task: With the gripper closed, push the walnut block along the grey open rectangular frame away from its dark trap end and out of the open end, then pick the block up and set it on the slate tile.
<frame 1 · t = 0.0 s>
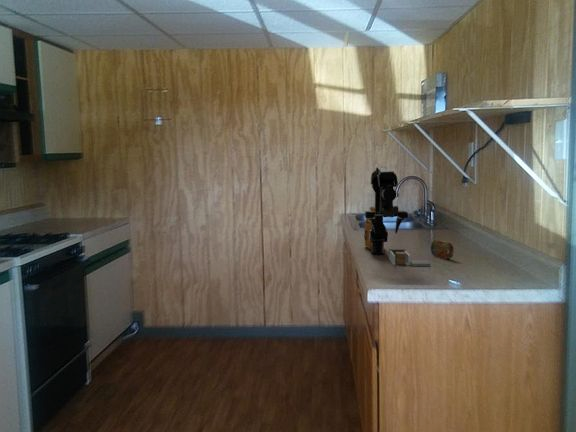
hand: (385, 233, 252), 15 cm above the counter, tool pointing down, fingers open, 9 cm apart
coffee package: (374, 248, 295), on the counter
block: (400, 263, 258), resting in grey open rectangular frame
tin: (442, 258, 271), on the counter
tile: (419, 264, 255), on the counter
grey open rectangular frame: (399, 262, 260), on the counter
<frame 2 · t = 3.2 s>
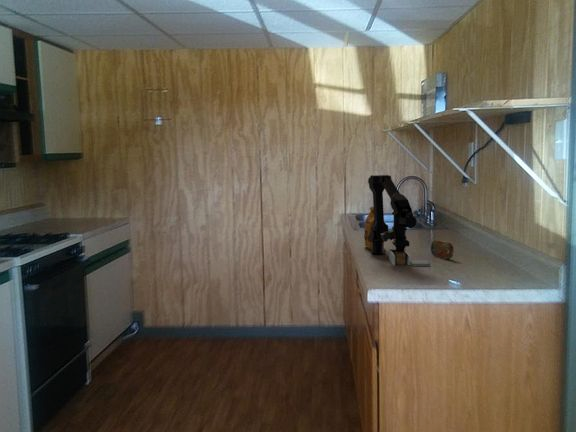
hand: (398, 257, 261), 2 cm above the counter, tool pointing down, fingers closed
block: (400, 263, 258), resting in grey open rectangular frame, touching gripper
everything else where it was.
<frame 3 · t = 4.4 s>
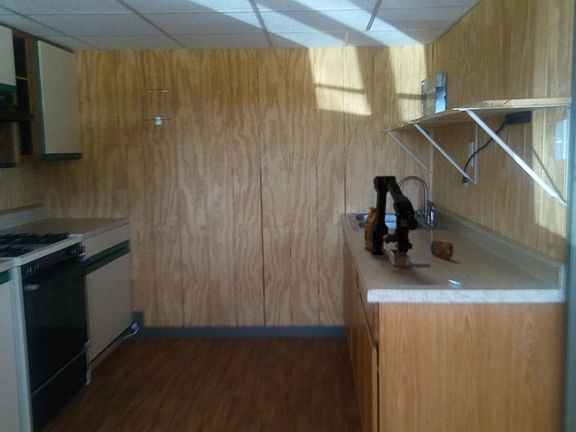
hand: (401, 261, 254), 2 cm above the counter, tool pointing down, fingers closed
block: (401, 263, 252), point 1 cm above the counter, tilted 27°, touching gripper
everything else where it was.
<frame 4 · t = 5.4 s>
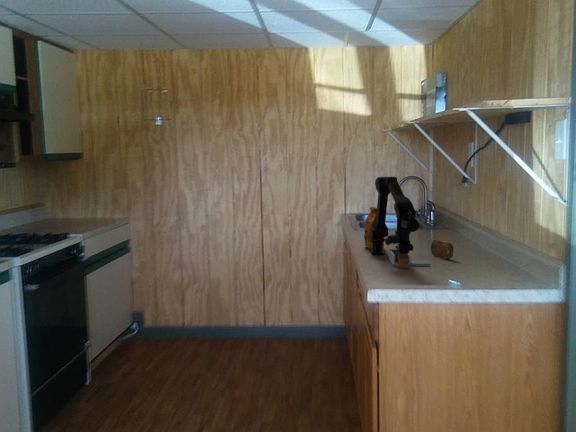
hand: (402, 262, 251), 2 cm above the counter, tool pointing down, fingers closed
block: (402, 265, 249), point 1 cm above the counter, tilted 27°, touching gripper
everything else where it was.
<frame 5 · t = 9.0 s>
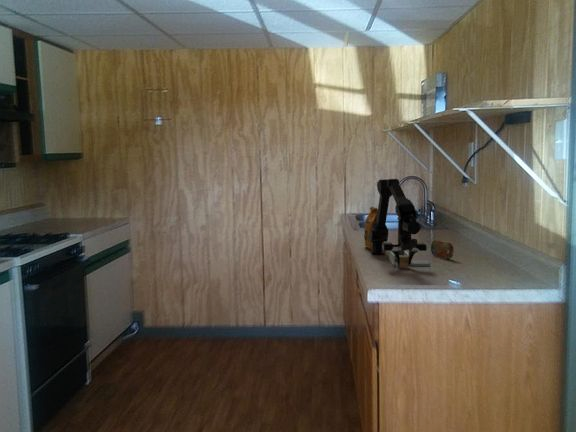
hand: (403, 265, 248), 1 cm above the counter, tool pointing down, fingers closed on block, 4 cm apart
block: (403, 267, 249), on the counter, touching gripper
everything else where it was.
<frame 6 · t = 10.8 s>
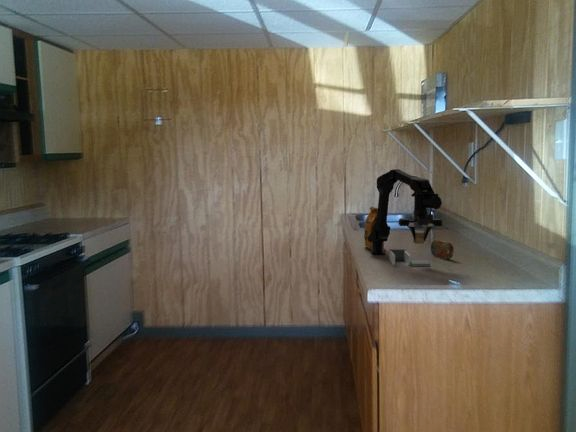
hand: (419, 241, 254), 11 cm above the counter, tool pointing down, fingers closed on block, 4 cm apart
block: (418, 242, 255), point 10 cm above the counter, touching gripper
everything else where it was.
when the fingers open (3 cm above the counter, at t = 12.5 s): block drops 1 cm, resting on tile.
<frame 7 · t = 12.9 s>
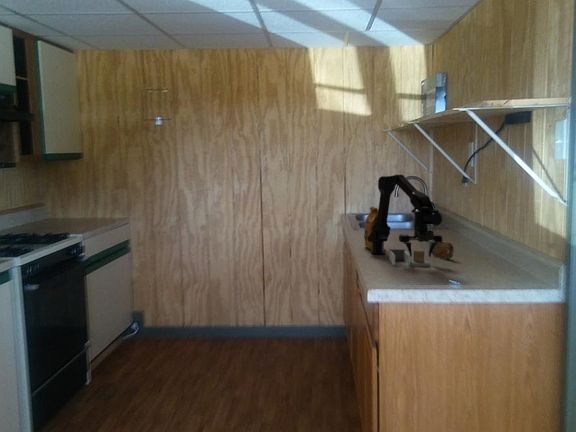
hand: (420, 256, 255), 4 cm above the counter, tool pointing down, fingers open, 8 cm apart
block: (418, 261, 257), point 1 cm above the counter, touching tile
everything else where it was.
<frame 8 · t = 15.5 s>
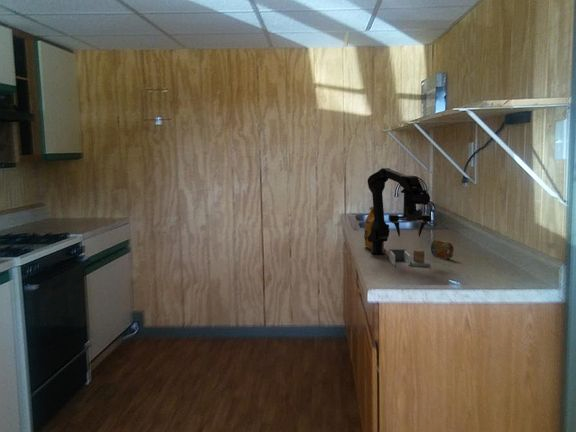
hand: (409, 236, 260), 12 cm above the counter, tool pointing down, fingers open, 9 cm apart
nothing on the counter moved.
at the end: block inside the target area on the tile (1.6 cm from its centre), point 1.2 cm above the tile's base; block tilted 0°; the gripper is holding nothing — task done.
